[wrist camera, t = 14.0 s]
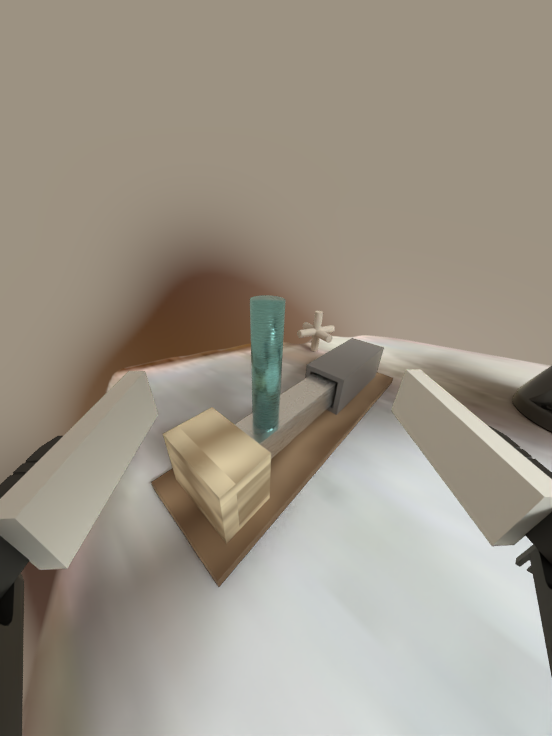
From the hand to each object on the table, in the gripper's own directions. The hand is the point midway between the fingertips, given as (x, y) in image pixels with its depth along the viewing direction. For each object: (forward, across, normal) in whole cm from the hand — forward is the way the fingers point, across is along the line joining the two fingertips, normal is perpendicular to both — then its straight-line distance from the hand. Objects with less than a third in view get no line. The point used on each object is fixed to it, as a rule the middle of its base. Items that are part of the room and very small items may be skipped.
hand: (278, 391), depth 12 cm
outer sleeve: (+24, +14, -17) cm, 33 cm away
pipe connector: (+43, +12, -18) cm, 48 cm away
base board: (+17, +6, -18) cm, 25 cm away
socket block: (+5, -5, -16) cm, 18 cm away
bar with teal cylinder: (+13, +3, -15) cm, 20 cm away
